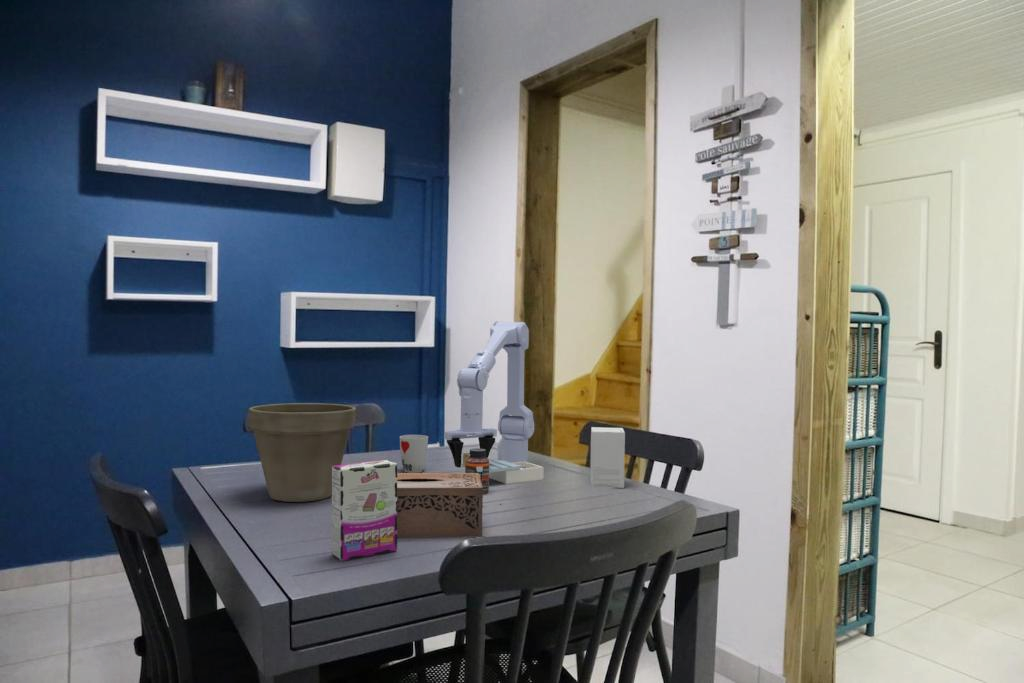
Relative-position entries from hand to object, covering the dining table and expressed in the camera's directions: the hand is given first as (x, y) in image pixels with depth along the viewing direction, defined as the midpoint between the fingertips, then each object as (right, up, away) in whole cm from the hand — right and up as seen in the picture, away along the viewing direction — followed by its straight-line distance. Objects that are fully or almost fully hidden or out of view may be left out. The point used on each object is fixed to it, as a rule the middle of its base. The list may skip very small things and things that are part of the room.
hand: (470, 465), depth 188 cm
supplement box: (+36, -6, +6) cm, 37 cm away
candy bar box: (-16, -6, -57) cm, 59 cm away
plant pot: (-40, -5, -14) cm, 43 cm away
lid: (+5, -1, +3) cm, 6 cm away
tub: (+12, -6, +8) cm, 15 cm away
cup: (-17, -5, +17) cm, 25 cm away
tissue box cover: (-9, -7, -39) cm, 40 cm away
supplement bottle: (+2, -6, -9) cm, 11 cm away
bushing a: (+13, -5, +11) cm, 18 cm away
